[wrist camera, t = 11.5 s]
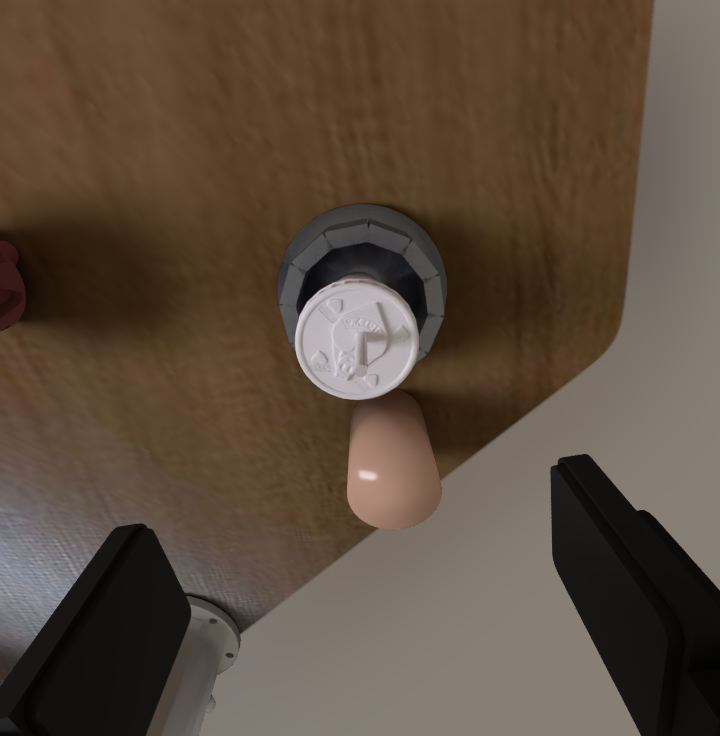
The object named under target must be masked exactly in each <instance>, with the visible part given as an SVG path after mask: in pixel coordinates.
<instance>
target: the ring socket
mask: <svg viewBox="0 0 720 736" xmlns="http://www.w3.org/2000/svg"><path fill="white" fill-rule="evenodd" d="M352 272H365V273H368V274H370V275H372V276H374V277H375V278H376V279H377V280H378V281H379V282H380V283H383V284H384V285H386V286H388V287H389V288H391V289H393V290H394V291H396V292H397V293H398V294H399V295H400V296H401V297H402V298H403V299H404V300H405V301H406V302H407V303H408V305H409V307H410V309H411V311H412V313H413V314H414V316H415V319H416V324H417V329H418V334H419V349H418V354H417V358H416V361H415V363H417V362H418V361H419V360H421V359H422V358H423V357H425V356H426V355H427V354H426V352H428V353H429V350H430V348H431V346H432V344H433V341H434V339H435V337H436V335H437V332H438V330H439V328H440V326H441V323H442V321H443V319H444V317H443V315H444V308H445V304H446V297H447V278H446V272H445V267H444V264H443V261H442V258H441V256H440V254H439V251H438V249H437V247H436V246H435V244H434V243H433V241H432V240H431V238H430V237H429V236H428V235H427V233H426V232H425V231H424V230H423V229H422V228H421V227H420V226H419V225H417V224H416V223H415V222H414V221H413V220H411V219H410V218H408V217H407V216H405V215H403V214H402V213H400V212H397V211H395V210H393V209H390V208H387V207H384V206H380V205H373V204H352V205H345V206H341V207H338V208H334V209H332V210H330V211H327V212H325V213H323V214H321V215H320V216H318V217H316V218H315V219H313V220H312V221H311V222H310V223H308V224H307V225H306V226H305V227H304V228H303V229H302V230H301V231H300V232H299V233H298V234H297V235H296V236H295V238H294V239H293V241H292V242H291V244H290V245H289V247H288V249H287V251H286V253H285V255H284V257H283V260H282V263H281V266H280V270H279V275H278V287H277V290H278V301H279V307H280V311H281V314H282V318H283V321H284V325H285V328H286V332H287V336H288V339H289V343H292V344H291V346H292V347H293V348H294V349H295V333H296V328H297V324H298V320H299V316H300V314H301V312H302V310H303V309H304V307H305V305H306V303H307V302H308V301H309V300H310V299H311V298H312V297H313V296H314V295H315V294H316V293H317V292H318V291H319V290H321V289H323V288H324V287H326V286H328V285H330V284H332V283H333V282H337V281H339V280H340V279H341V278H342V277H343V276H345V275H347V274H349V273H352ZM295 350H296V349H295Z"/></svg>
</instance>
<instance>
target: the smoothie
mask: <svg viewBox="0 0 720 736" xmlns="http://www.w3.org/2000/svg"><path fill="white" fill-rule="evenodd" d="M295 349H296V354H297V358H298V361H299V363H300V365H301V367H302V369H303V371H304V372H305V374H306V375H307V376H308V378H309V379H310V380H311V381H312V382H313V383H314V384H315V385H317V386H318V387H319V388H321V389H322V390H324V391H326V392H327V393H329V394H332V395H334V396H337V397H340V398H344V399H352V400H363V399H370V398H374V397H378V396H380V395H383V394H385V393H387V392H389V391H391V390H392V389H394V388H395V387H397V386H398V385H399V384H400V383H401V382H402V381H403V380H404V379H405V378H406V377H407V375H408V374H409V373H410V371H411V369H412V368H413V366H414V364H415V361H416V358H417V354H418V349H419V334H418V329H417V324H416V319H415V316H414V314H413V313H412V311H411V309H410V307H409V305H408V303H407V302H406V301H405V300H404V299H403V298H402V297H401V296H400V295H399V294H398V293H397V292H396V291H394V290H393V289H391V288H389V287H388V286H386V285H384V284H383V283H380V282H379V281H378V280H377V279H376V278H375V277H374V276H372V275H370V274H368V273H365V272H352V273H349V274H347V275H345V276H343V277H342V278H341V279H340V280H339V281H337V282H333V283H332V284H330V285H328V286H326V287H324V288H323V289H321V290H319V291H318V292H317V293H316V294H315V295H314V296H313V297H312V298H311V299H310V300H309V301H308V302H307V303H306V305H305V307H304V309H303V310H302V312H301V314H300V316H299V320H298V324H297V328H296V333H295Z"/></svg>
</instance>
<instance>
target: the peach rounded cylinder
mask: <svg viewBox="0 0 720 736" xmlns="http://www.w3.org/2000/svg"><path fill="white" fill-rule="evenodd" d="M441 494H442V487H441V482H440V478H439V475H438V471H437V467H436V463H435V459H434V455H433V451H432V447H431V443H430V440H429V436H428V432H427V428H426V424H425V420H424V416H423V412H422V409H421V407H420V405H419V403H418V402H417V401H416V400H415V399H414V398H413V397H412V396H411V395H409V394H408V393H406V392H404V391H401V390H398V389H392V390H391V391H389V392H387V393H385V394H383V395H380V396H378V397H374V398H370V399H363V400H359V401H358V402H357V403H356V405H355V406H354V409H353V411H352V414H351V426H350V446H349V466H348V486H347V497H348V502H349V504H350V507H351V508H352V510H353V512H354V513H355V514H356V515H357V516H358V517H359V518H360V519H361V520H363V521H364V522H366V523H368V524H370V525H372V526H375V527H378V528H382V529H389V530H397V529H404V528H408V527H412V526H415V525H417V524H419V523H421V522H423V521H424V520H426V519H427V518H428V517H429V516H430V515H432V513H433V512H434V511H435V510H436V508H437V506H438V505H439V502H440V499H441Z"/></svg>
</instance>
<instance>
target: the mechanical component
mask: <svg viewBox="0 0 720 736" xmlns="http://www.w3.org/2000/svg"><path fill="white" fill-rule="evenodd" d="M18 258H19V256H18V252H17V250H16V248H15V247H14V246H13V245H12V244H10V243H9V242H6V241H0V331H2V330H4V329H7V328H9V327H11V326H12V325H14V324H15V323H16V322H17V321H19V319H20V318H21V316H22V314H23V312H24V309H25V305H26V292H25V286H24V283H23V280H22V278H21V276H20V274H19V272H18V270H17V268H16V264H17V262H18Z"/></svg>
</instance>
